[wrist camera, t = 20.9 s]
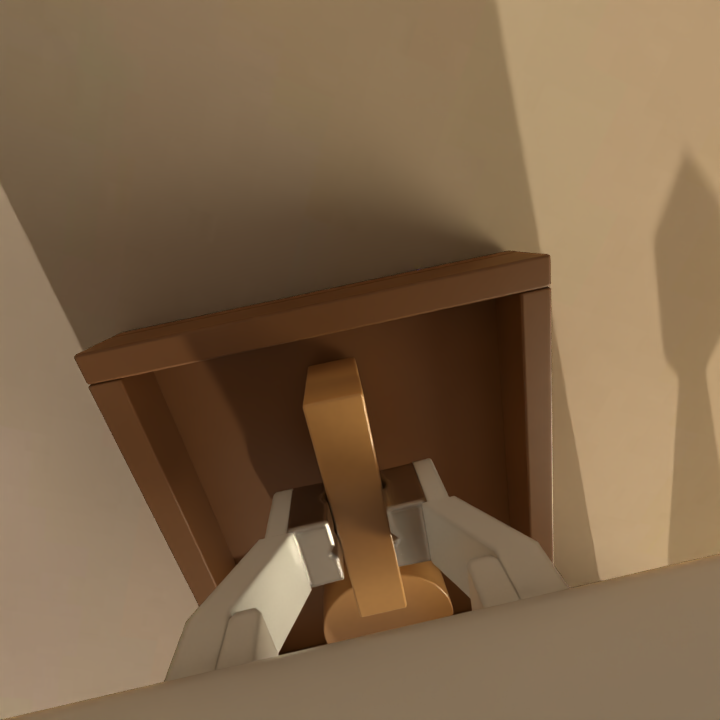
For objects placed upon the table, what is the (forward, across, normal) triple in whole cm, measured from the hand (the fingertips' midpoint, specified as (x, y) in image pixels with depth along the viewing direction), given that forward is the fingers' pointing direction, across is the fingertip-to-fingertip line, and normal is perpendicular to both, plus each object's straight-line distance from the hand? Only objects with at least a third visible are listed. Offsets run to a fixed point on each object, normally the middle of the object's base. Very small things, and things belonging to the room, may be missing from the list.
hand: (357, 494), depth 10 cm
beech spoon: (+2, 0, +2) cm, 3 cm away
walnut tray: (+2, 0, +2) cm, 3 cm away
